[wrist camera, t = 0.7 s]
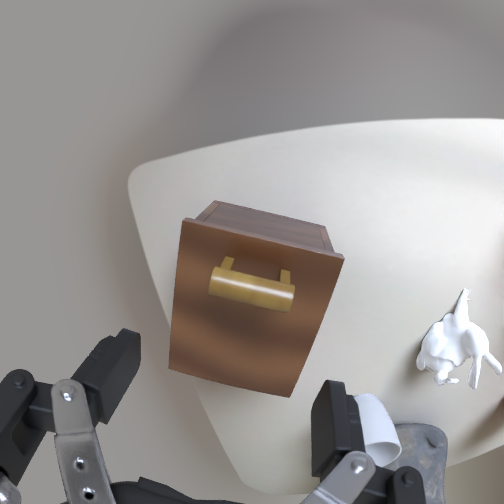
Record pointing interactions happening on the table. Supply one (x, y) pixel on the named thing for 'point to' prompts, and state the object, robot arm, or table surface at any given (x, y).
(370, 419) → the cup
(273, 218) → the chest
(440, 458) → the vessel
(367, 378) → the table surface
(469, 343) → the rabbit figurine
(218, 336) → the lid
